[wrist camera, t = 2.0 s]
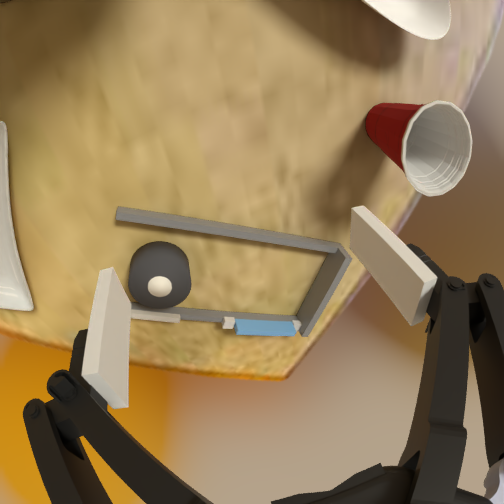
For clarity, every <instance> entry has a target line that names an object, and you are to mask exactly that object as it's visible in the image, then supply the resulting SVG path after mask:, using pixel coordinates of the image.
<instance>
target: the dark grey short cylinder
mask: <svg viewBox="0 0 504 504" xmlns="http://www.w3.org/2000/svg"><path fill="white" fill-rule="evenodd" d="M128 286H129V290H130V293H131V295H132V296H133V298H134V299H135V300H136V301H138V302H139V303H140V304H142V305H144V306H147V307H150V308H154V309H166V308H170V307H173V306H176V305H178V304H180V303H181V302H182V301H184V300H185V299H186V297H187V296H188V295H189V293H190V290H191V277H190V270H189V262H188V259H187V256H186V254H185V253H184V252H183V251H182V250H181V249H180V248H179V247H177V246H176V245H174V244H171V243H168V242H162V241H156V242H151V243H147V244H145V245H143V246H141V247H140V248H139V249H138V250H137V251H136V252H135V253H134V255H133V256H132V259H131V264H130V272H129V282H128Z"/></svg>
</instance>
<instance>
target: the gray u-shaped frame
mask: <svg viewBox="0 0 504 504" xmlns="http://www.w3.org/2000/svg"><path fill="white" fill-rule="evenodd" d="M116 220H122V221H129V222H135V223H142V224H149V225H156V226H163V227H169V228H176V229H183V230H189V231H196V232H202V233H209V234H216V235H222V236H229V237H235V238H241V239H248V240H254V241H261V242H267V243H273V244H280V245H286V246H292V247H298V248H305V249H311V250H317V251H323V252H329V253H328V255H327V257H326V259H325V261H324V263H323V265H322V267H321V269H320V271H319V273H318V275H317V277H316V279H315V281H314V283H313V285H312V287H311V289H310V290H309V292H308V294H307V296H306V298H305V300H304V302H303V304H302V306H301V308H300V309H299V311H298V313H297V315H296V316H293V315H273V314H256V313H241V312H227V311H215V310H203V309H192V308H181V307H170V308H166V309H154V308H150V307H147V306H144V305H142V304H140V303H135V302H130V303H131V318H134V319H143V320H153V321H163V322H174V323H179V322H180V319H184V320H196V321H209V322H222V328H223V329H233V327H234V329H235V332H236V335H263V336H294V335H295V334H296V331H299V332H300V334H301V336H302V337H308V335H309V334H310V332H311V331H312V329H313V327H314V326H315V324H316V322H317V321H318V319H319V317H320V315H321V314H322V312H323V310H324V309H325V307H326V305H327V303H328V302H329V300H330V298H331V296H332V295H333V293H334V291H335V289H336V288H337V286H338V284H339V282H340V280H341V279H342V277H343V275H344V273H345V271H346V270H347V268H348V266H349V264H350V262H351V260H352V258H351V256H350V255H349V254H348V253H347V251H346V250H345V249H344V248H343V246H342V245H341V244H340V243H335V242H329V241H324V240H319V239H313V238H308V237H302V236H297V235H291V234H285V233H280V232H274V231H268V230H262V229H257V228H251V227H245V226H239V225H233V224H227V223H221V222H215V221H209V220H203V219H197V218H190V217H184V216H178V215H171V214H165V213H159V212H152V211H146V210H139V209H132V208H125V207H119V206H118V209H117V213H116Z"/></svg>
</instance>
